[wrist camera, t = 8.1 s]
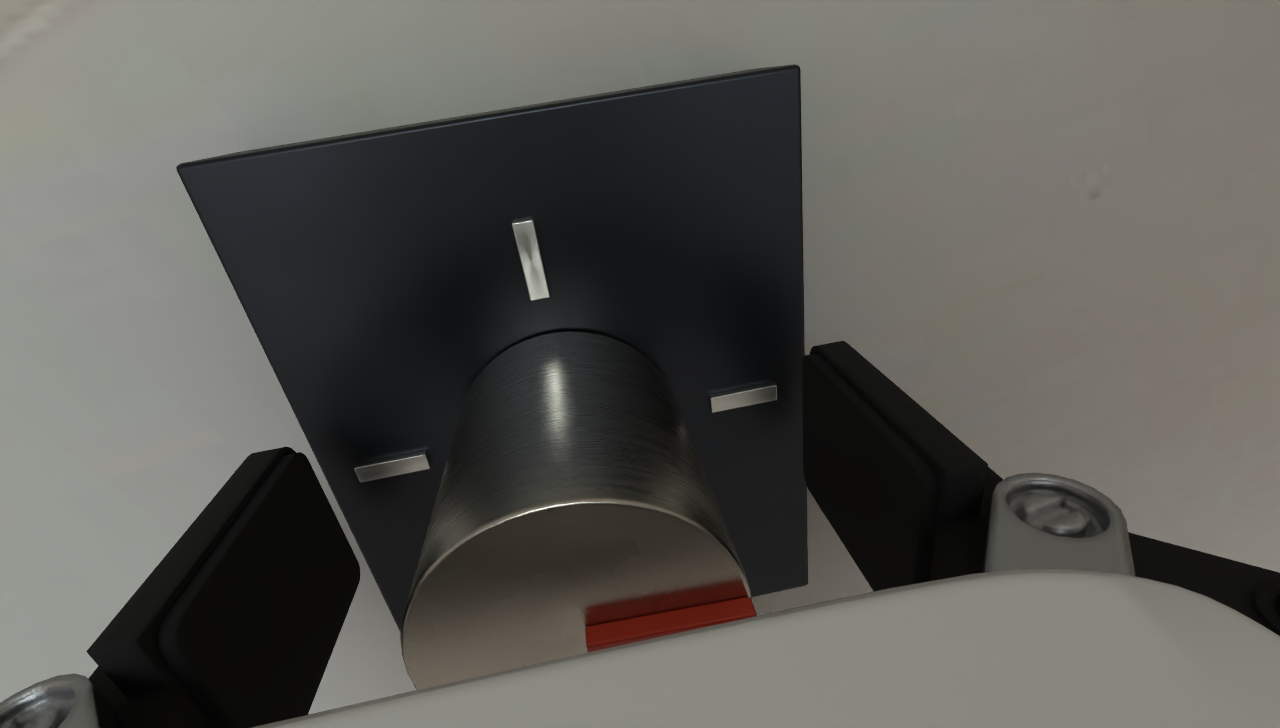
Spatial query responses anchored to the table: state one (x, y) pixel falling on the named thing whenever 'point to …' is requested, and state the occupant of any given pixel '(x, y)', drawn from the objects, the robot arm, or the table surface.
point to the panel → (533, 287)
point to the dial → (567, 518)
